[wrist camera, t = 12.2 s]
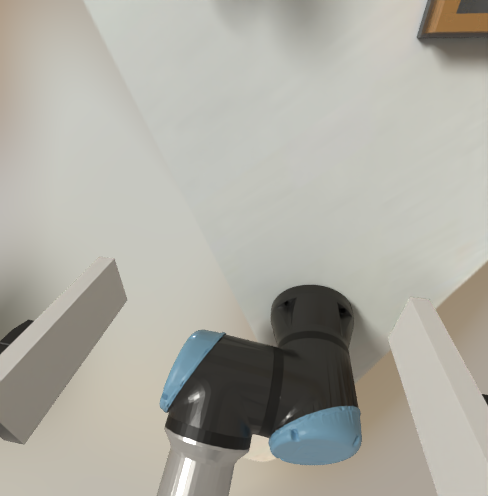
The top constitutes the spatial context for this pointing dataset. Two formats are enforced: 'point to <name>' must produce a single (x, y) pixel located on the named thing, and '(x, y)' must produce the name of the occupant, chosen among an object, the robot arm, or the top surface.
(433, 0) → the brown open box
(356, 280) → the top surface
